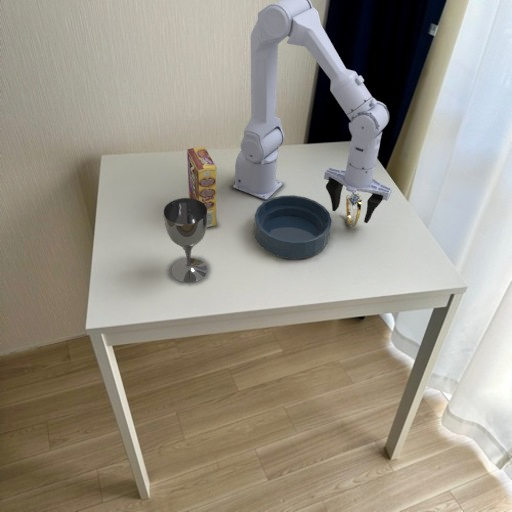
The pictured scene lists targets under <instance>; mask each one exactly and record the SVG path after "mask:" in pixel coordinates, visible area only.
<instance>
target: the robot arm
mask: <svg viewBox="0 0 512 512" xmlns="http://www.w3.org/2000/svg"><path fill="white" fill-rule="evenodd" d="M287 37H288V39H287V41H286V44H288V45H292V46H293V45H294V46H299V47H305V48H306V50H307V51H308V53H309V54H310V55H311V56H312V58H313V59H314V60H315V61H316V62H317V64H318V65H319V67H320V68H321V69H322V70H323V72H324V73H325V75H326V76H327V77H328V78H329V80H330V88H329V89H330V92H331V94H332V95H333V97H334V98H335V100H336V101H337V103H338V104H339V106H340V107H341V109H342V110H343V111H344V113H345V115H346V116H347V117H348V119H349V120H350V122H348V129H349V133H350V135H351V140H350V145H349V150H348V157H347V162H346V167H345V169H344V170H343V169H336V168H332V167H328V168H327V169H326V170H325V171H324V176H323V179H324V180H326V181H327V183H326V185H325V190H326V191H327V193H328V195H329V199H330V203H331V211H332V212H336V211H337V210H338V209H339V207H340V203H341V197H342V191H343V188H344V187H345V190H346V191H348V192H350V193H352V192H353V193H354V194H355V193H356V192H362V193H368V194H371V196H369V198H368V199H367V201H366V211H365V212H366V213H365V215H364V220H363V223H364V224H368V223H369V221H370V220H371V218H372V216H373V214H374V212H375V210H376V209H377V208H378V206H379V205H380V204H381V203H382V201H383V200H384V201H386V202H387V201H388V200H389V199H390V197H391V196H392V192H393V188H391V187H389V186H386V185H385V184H383V183H381V182H379V181H378V180H376V179H375V178H374V173H375V170H376V169H375V168H376V165H377V160H378V156H379V150H380V145H381V139H382V134H383V130H384V129H385V128H386V126H387V125H388V123H389V121H390V112H389V110H388V107H387V105H386V104H385V103H383V102H381V101H379V100H377V99H376V98H375V97H373V96H372V94H371V92H370V91H369V90H368V88H367V87H366V85H365V84H364V82H365V79H364V78H363V76H362V75H358V73H357V72H356V71H355V70H351V69H348V68H346V66H345V64H344V62H343V61H342V59H341V57H340V56H339V53H338V52H337V50H336V49H335V47H334V44H333V43H332V42H331V39H330V38H329V36H328V34H327V32H326V30H325V29H324V27H323V25H322V23H321V18H320V14H319V11H318V10H317V9H316V8H315V7H314V5H313V3H312V1H311V0H279V1H276V2H274V3H269V4H268V5H266V6H265V7H264V8H263V9H261V10H260V11H258V13H257V20H256V23H255V24H254V27H253V28H252V30H251V33H250V119H249V121H248V122H247V124H246V126H245V128H244V129H243V138H242V140H241V142H240V151H239V152H238V154H237V157H236V159H235V164H234V166H235V168H234V169H235V170H234V179H235V180H234V182H235V183H234V184H233V186H232V187H233V188H234V189H235V190H238V191H241V192H244V193H245V194H249V195H251V196H254V197H256V198H260V199H262V200H264V201H267V200H269V199H270V198H271V196H272V195H274V194H275V192H277V191H278V190H279V189H280V188H281V187H282V186H283V182H281V181H278V180H277V170H278V155H279V154H278V152H279V148H280V147H282V145H283V144H284V142H285V133H284V131H283V126H282V119H281V118H279V117H278V116H277V89H278V53H279V52H278V51H279V50H278V48H279V44H280V43H281V42H283V40H285V39H286V38H287Z"/></svg>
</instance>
